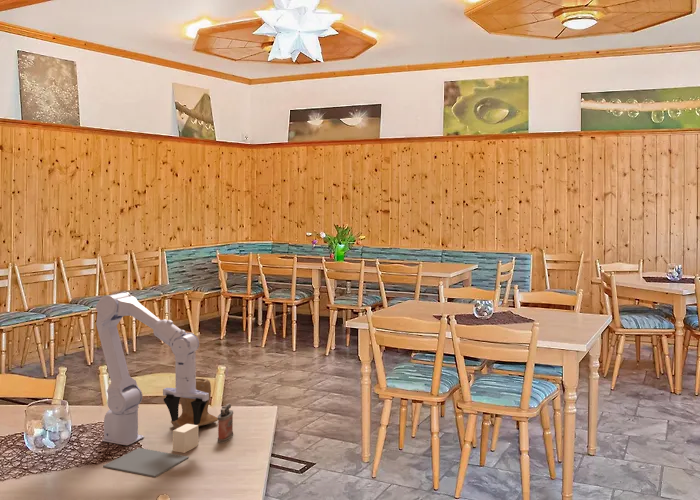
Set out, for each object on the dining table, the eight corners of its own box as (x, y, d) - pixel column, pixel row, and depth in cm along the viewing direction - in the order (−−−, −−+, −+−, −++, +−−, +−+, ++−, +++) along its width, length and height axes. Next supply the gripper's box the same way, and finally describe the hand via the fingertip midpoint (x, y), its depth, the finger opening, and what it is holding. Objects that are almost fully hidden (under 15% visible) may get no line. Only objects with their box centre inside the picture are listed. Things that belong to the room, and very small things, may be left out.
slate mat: (103, 467, 193) (103, 465, 193) (139, 449, 207) (139, 447, 207) (155, 477, 187) (155, 475, 187) (188, 458, 200) (188, 456, 200)
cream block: (172, 451, 206) (172, 430, 206) (186, 443, 212) (186, 423, 212) (184, 453, 205) (184, 432, 204) (198, 445, 211) (198, 425, 211)
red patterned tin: (225, 442, 213) (225, 410, 212) (215, 442, 214) (215, 409, 213) (235, 434, 221) (235, 402, 220) (225, 433, 222) (225, 401, 221)
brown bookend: (202, 416, 238) (202, 371, 237) (222, 424, 230) (223, 378, 229) (161, 425, 228) (161, 379, 227) (181, 435, 219) (181, 387, 218)
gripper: (156, 376, 206) (156, 422, 207) (199, 382, 200) (199, 429, 202) (171, 371, 212) (171, 416, 213) (212, 376, 207) (213, 422, 208)
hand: (185, 422), depth 208 cm, fingers open, 7 cm apart
